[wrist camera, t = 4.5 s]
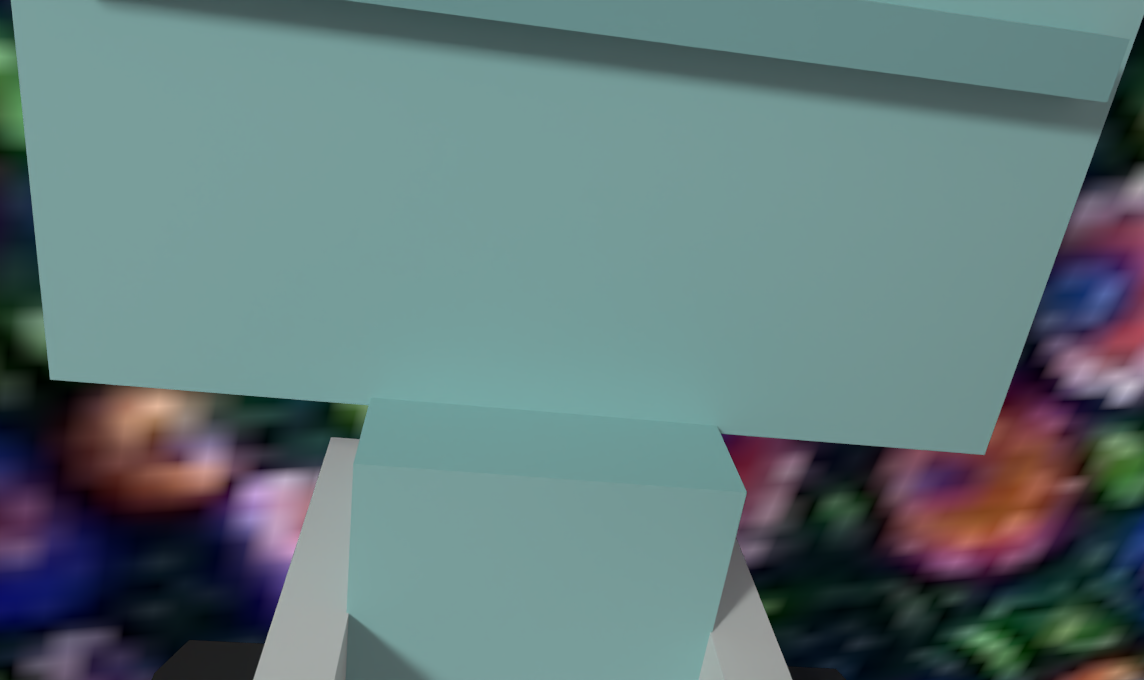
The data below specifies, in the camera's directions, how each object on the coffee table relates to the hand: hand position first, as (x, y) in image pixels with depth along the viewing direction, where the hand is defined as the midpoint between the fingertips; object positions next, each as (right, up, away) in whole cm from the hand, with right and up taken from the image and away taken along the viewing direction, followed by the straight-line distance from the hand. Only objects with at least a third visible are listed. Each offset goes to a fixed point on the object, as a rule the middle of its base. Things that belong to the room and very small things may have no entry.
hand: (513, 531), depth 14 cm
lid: (+1, +7, -3) cm, 8 cm away
